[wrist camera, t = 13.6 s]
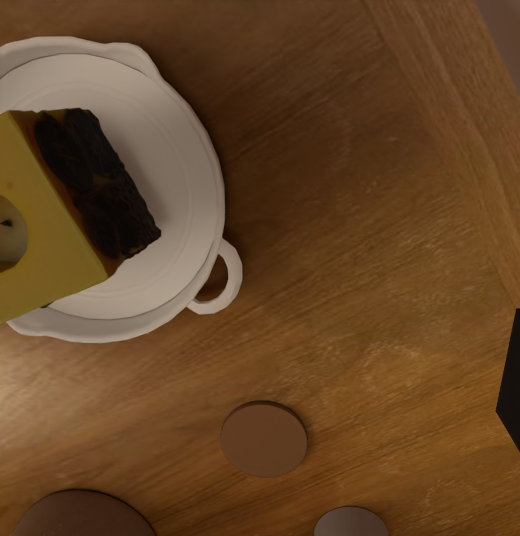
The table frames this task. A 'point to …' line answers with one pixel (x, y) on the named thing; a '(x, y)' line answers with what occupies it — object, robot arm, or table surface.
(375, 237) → the table surface
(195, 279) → the pan
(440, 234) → the table surface
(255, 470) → the coaster
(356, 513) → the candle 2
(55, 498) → the vase
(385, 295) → the table surface
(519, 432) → the robot arm
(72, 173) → the candle
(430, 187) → the table surface
